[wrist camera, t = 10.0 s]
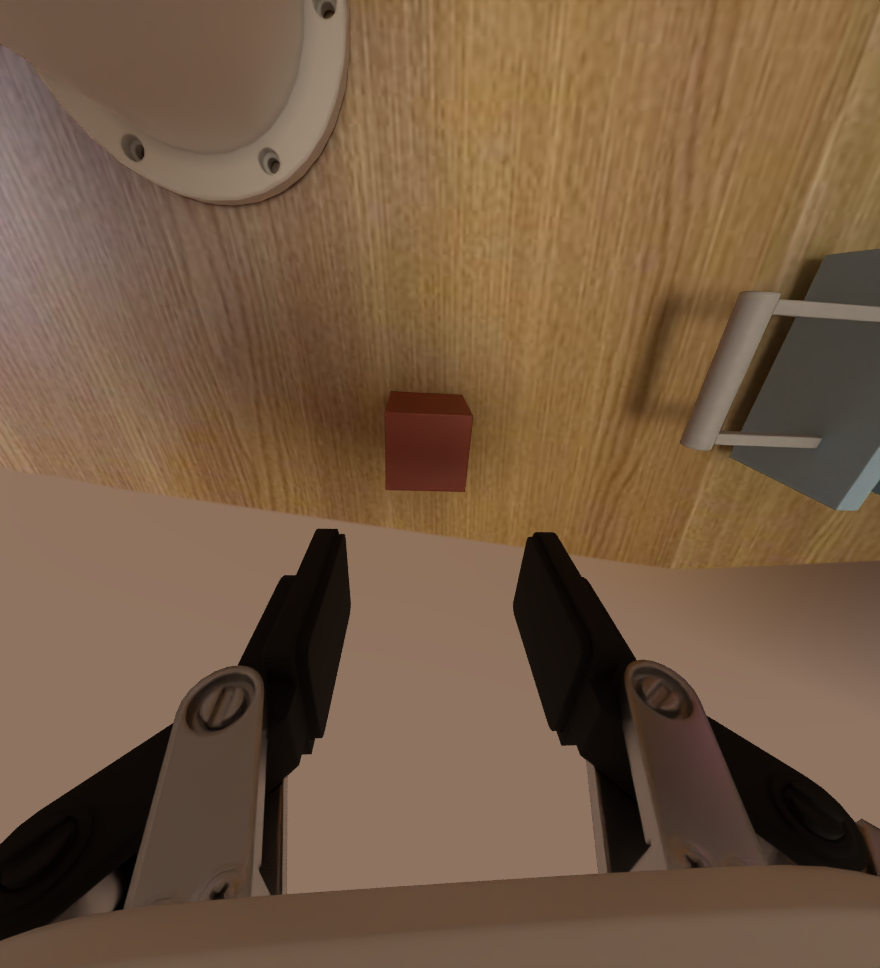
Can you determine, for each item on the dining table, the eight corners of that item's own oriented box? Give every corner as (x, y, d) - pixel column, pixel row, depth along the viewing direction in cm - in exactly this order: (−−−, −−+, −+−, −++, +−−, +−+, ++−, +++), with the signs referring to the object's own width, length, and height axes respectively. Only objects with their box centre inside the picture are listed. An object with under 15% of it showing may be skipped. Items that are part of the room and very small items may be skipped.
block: (390, 458, 23) (385, 490, 19) (390, 391, 21) (384, 411, 17) (457, 460, 23) (465, 492, 19) (463, 394, 21) (473, 415, 17)
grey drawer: (625, 453, 23) (700, 507, 17) (694, 243, 18) (839, 213, 12) (881, 462, 24) (1034, 515, 18) (1016, 271, 19) (1292, 257, 13)
